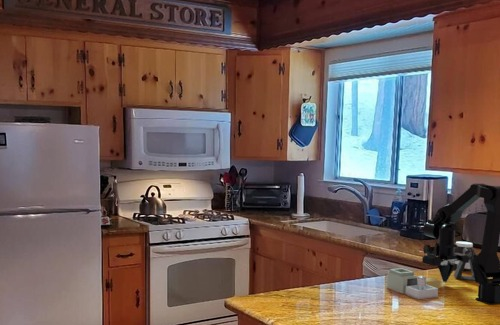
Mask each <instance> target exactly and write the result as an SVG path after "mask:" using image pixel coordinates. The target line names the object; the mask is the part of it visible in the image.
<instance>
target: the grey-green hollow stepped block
mask: <svg viewBox="0 0 500 325" xmlns="http://www.w3.org/2000/svg"><path fill="white" fill-rule="evenodd" d="M386 277H387V282H386V283H387V284H386V288H387V289H389V290H392V291H395V292H397V293H400V294H406V286H413V285H417V275H415V272H414V271H411V270H409V269H405V268H401V267H400V268H390V269H389V271H387V276H386Z"/></svg>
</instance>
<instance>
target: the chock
mask: <svg viewBox="0 0 500 325" xmlns="http://www.w3.org/2000/svg"><path fill="white" fill-rule="evenodd" d="M426 285H429V286H432V287H435V288H438V289H441V280H439V279H437V278H434V277H426Z"/></svg>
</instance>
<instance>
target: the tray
mask: <svg viewBox="0 0 500 325" xmlns="http://www.w3.org/2000/svg"><path fill="white" fill-rule="evenodd" d="M405 296H408V297H410V298H413V299H415V300H424V299H425V300H426V299H434V298H438V296H439V288H435V287H432V286H429V285H426V289H424V290H417V285H413V286H406V293H405Z"/></svg>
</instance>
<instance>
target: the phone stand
mask: <svg viewBox="0 0 500 325" xmlns="http://www.w3.org/2000/svg"><path fill="white" fill-rule="evenodd" d="M468 249H469V248H468ZM469 250H470V249H469ZM467 251H468V250H467V249H466V248H464V249H463V254H464V255H466V252H467ZM467 256H468V257H469V263H470V267H471V271H470V272H471V276H469V275H463V273H464V271H463V270H464V267H465V264H466V263H462V261H460V262H459V264H458V266H457V269H455V271H454V273H453V276H454V278H455V280H460V281H471V282H472V281H474V282H476V281H475V277H474V272H473V266H472V263H473V252H472V251H471V250H470V253H469V254H467Z"/></svg>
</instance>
